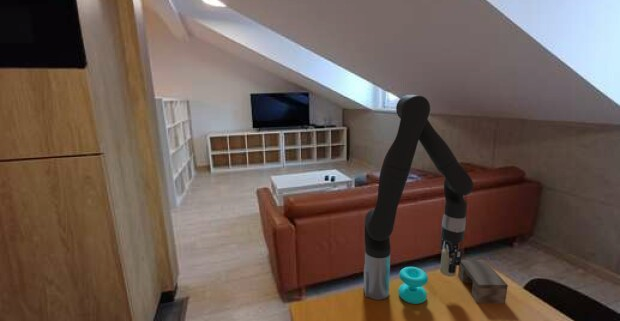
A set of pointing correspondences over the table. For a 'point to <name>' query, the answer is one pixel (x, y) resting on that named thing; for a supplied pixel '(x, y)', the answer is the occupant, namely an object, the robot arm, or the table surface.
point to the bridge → (483, 281)
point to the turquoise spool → (413, 285)
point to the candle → (445, 264)
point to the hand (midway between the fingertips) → (448, 267)
